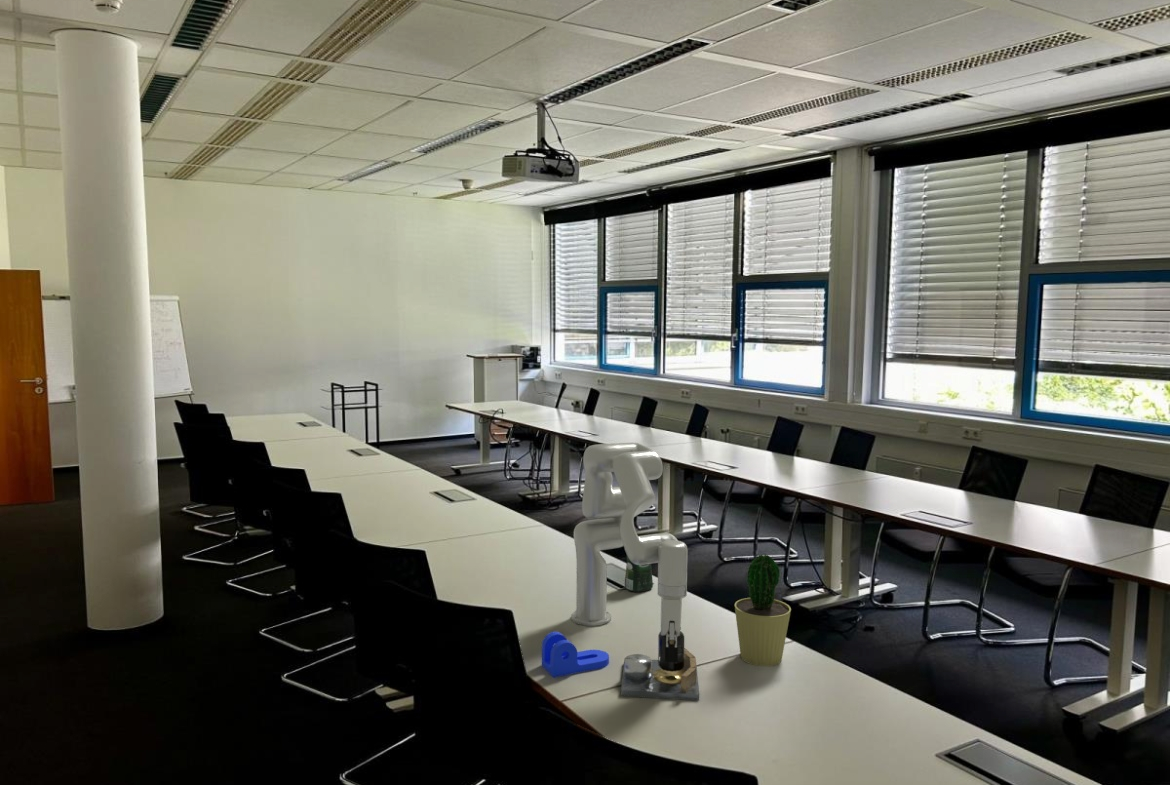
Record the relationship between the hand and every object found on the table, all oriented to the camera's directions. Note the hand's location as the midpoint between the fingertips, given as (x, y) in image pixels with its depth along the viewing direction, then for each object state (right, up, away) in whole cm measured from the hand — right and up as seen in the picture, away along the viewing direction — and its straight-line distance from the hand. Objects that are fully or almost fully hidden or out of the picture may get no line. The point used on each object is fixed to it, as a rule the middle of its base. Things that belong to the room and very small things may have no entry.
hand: (671, 655), depth 211 cm
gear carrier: (-4, -7, +1) cm, 8 cm away
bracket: (-24, -7, +10) cm, 27 cm away
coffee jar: (-4, -1, +74) cm, 74 cm away
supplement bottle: (0, -3, 0) cm, 3 cm away
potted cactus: (+27, -6, +16) cm, 32 cm away
